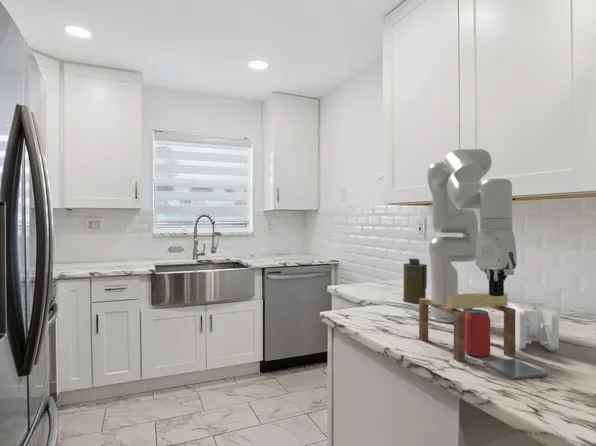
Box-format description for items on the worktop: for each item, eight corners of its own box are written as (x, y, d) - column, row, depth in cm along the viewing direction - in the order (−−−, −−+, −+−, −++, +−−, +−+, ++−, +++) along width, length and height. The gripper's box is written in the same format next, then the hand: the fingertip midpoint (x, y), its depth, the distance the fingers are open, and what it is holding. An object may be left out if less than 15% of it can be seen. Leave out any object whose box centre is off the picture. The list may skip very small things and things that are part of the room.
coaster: (482, 363, 98) (482, 361, 98) (514, 360, 100) (514, 358, 100) (512, 379, 88) (512, 377, 88) (547, 375, 90) (547, 373, 90)
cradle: (419, 339, 119) (419, 298, 119) (468, 335, 123) (468, 295, 123) (458, 361, 100) (458, 312, 100) (515, 356, 104) (515, 309, 104)
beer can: (468, 357, 103) (468, 313, 103) (461, 349, 109) (461, 308, 109) (494, 358, 102) (494, 314, 102) (485, 350, 108) (485, 309, 108)
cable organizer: (504, 336, 122) (504, 301, 122) (540, 339, 119) (540, 302, 119) (519, 352, 107) (519, 311, 107) (561, 355, 105) (561, 314, 105)
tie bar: (446, 307, 105) (446, 294, 105) (501, 304, 109) (501, 292, 109) (451, 309, 103) (451, 296, 103) (507, 306, 106) (507, 293, 106)
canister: (398, 301, 177) (398, 258, 177) (410, 298, 184) (410, 257, 184) (419, 304, 169) (419, 260, 169) (431, 301, 176) (431, 259, 176)
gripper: (464, 226, 105) (465, 291, 105) (505, 225, 91) (505, 301, 90) (487, 226, 107) (488, 290, 106) (531, 225, 92) (531, 300, 92)
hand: (496, 295), depth 98 cm, fingers closed
